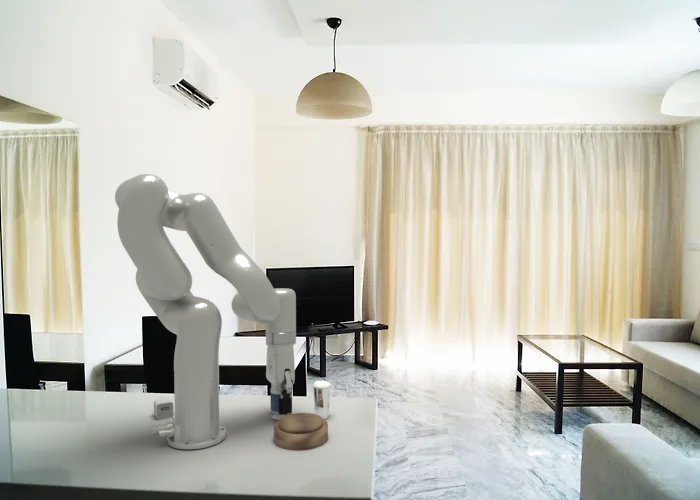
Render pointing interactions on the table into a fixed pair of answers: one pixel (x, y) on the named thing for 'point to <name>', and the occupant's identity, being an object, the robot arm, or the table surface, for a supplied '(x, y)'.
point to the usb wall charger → (163, 408)
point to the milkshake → (322, 398)
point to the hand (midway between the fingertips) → (281, 408)
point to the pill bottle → (276, 403)
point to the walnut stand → (300, 431)
